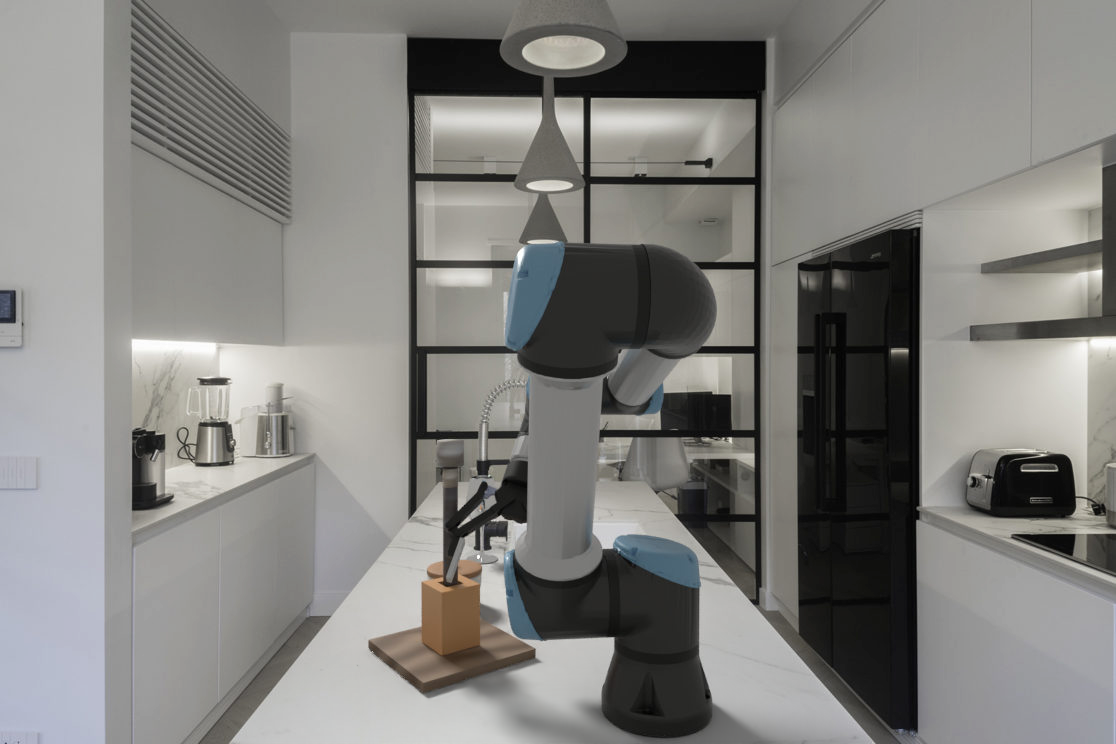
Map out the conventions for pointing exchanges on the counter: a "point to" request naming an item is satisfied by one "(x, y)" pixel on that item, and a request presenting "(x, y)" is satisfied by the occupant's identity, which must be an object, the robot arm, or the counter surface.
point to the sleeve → (450, 615)
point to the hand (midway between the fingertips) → (489, 593)
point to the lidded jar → (464, 568)
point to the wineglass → (484, 506)
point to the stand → (407, 645)
